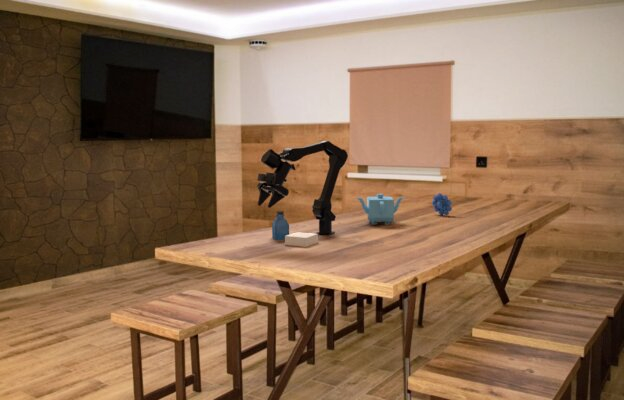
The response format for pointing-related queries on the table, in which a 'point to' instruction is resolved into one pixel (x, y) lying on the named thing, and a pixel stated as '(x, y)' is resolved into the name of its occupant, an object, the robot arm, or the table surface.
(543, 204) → the table surface
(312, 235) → the cream block
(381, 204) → the teakettle
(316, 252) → the table surface
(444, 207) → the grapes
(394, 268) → the table surface
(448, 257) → the table surface
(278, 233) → the perfume bottle
